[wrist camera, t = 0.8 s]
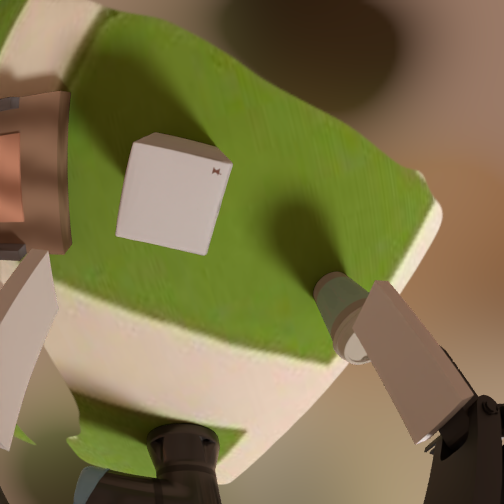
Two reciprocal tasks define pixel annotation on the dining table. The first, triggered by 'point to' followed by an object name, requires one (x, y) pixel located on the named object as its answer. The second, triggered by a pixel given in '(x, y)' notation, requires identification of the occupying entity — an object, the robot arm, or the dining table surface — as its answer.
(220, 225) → the dining table surface
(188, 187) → the supplement box
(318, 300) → the coffee cup
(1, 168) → the dock
